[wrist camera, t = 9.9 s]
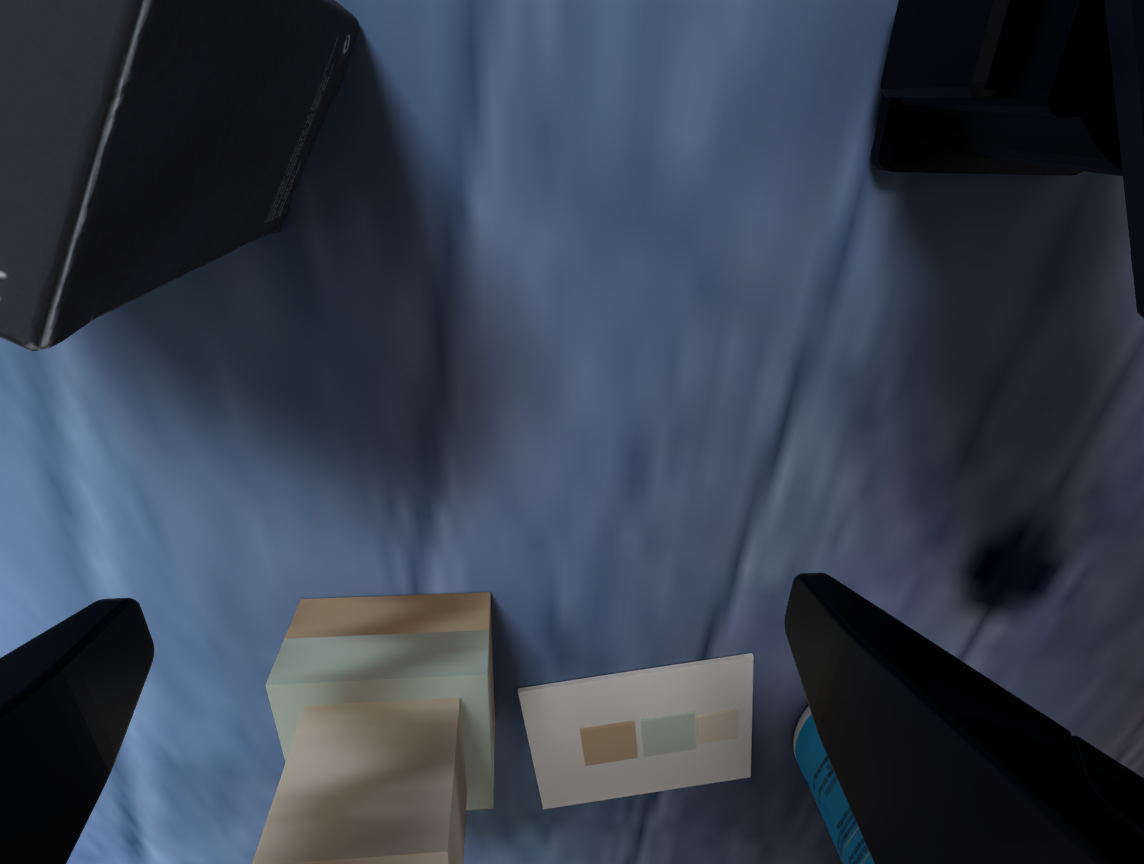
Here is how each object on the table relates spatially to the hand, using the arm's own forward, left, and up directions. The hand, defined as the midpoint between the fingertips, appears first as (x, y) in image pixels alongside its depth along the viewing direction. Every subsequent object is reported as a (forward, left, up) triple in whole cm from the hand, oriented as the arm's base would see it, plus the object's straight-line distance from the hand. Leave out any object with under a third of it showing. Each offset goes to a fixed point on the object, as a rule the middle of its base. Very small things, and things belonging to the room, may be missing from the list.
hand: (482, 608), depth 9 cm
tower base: (+4, +14, -12) cm, 19 cm away
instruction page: (-6, +19, -12) cm, 24 cm away
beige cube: (+4, +14, -8) cm, 17 cm away
